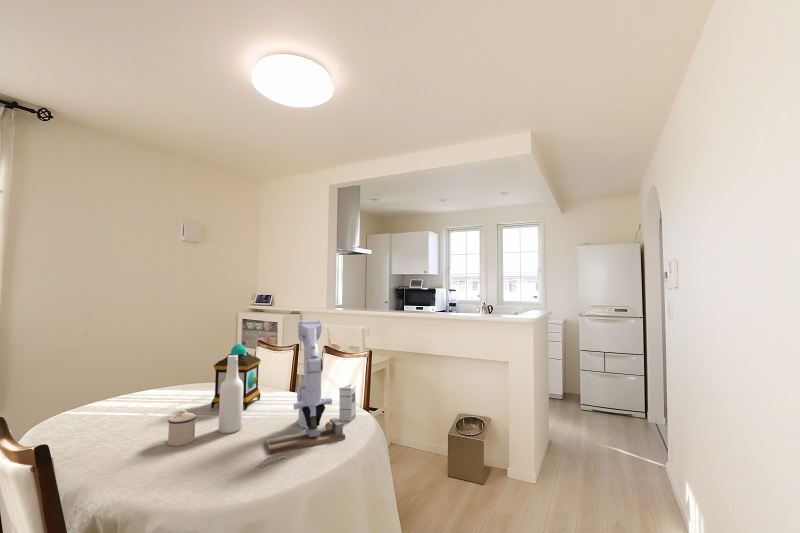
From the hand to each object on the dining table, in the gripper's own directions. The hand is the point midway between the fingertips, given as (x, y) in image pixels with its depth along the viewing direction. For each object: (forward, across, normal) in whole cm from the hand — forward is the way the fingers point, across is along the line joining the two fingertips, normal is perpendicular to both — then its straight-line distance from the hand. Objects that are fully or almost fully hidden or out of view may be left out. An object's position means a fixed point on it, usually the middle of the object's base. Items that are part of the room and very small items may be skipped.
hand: (312, 425), depth 144 cm
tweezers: (+6, -20, -13) cm, 25 cm away
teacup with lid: (+6, -45, +23) cm, 50 cm away
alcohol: (+6, -27, +26) cm, 38 cm away
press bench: (+5, -3, 0) cm, 6 cm away
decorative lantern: (+6, -21, +62) cm, 66 cm away
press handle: (+3, 0, 0) cm, 3 cm away
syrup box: (+6, +20, +16) cm, 27 cm away
